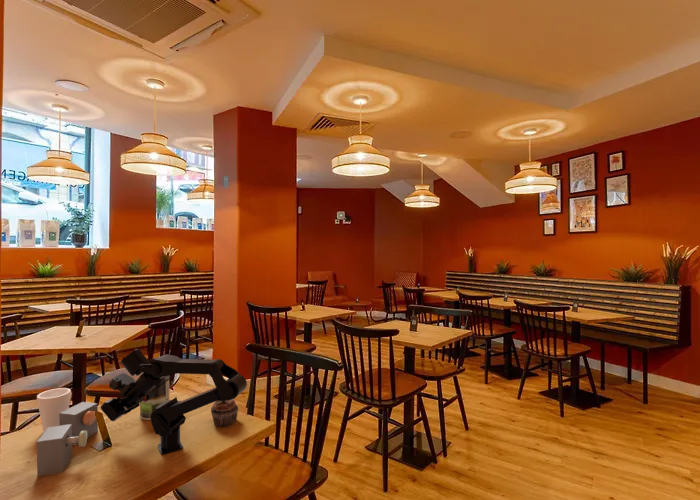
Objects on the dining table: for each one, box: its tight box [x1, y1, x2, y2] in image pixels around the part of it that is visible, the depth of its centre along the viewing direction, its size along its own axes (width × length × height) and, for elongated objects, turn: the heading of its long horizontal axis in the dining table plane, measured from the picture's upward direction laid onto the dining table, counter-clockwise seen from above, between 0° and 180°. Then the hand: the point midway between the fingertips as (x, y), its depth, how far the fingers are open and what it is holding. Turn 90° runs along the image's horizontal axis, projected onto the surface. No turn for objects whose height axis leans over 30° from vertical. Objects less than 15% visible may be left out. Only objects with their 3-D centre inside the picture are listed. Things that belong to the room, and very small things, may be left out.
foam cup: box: [36, 387, 72, 433], centre depth 140 cm, size 10×9×13 cm
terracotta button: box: [82, 411, 96, 425], centre depth 134 cm, size 6×4×4 cm
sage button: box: [65, 430, 88, 448], centre depth 119 cm, size 6×4×4 cm
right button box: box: [59, 401, 99, 446], centre depth 135 cm, size 6×9×10 cm, turn 170°
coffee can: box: [139, 375, 171, 421], centre depth 152 cm, size 10×10×14 cm
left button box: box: [36, 424, 73, 477], centre depth 118 cm, size 6×9×10 cm, turn 20°
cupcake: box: [210, 399, 239, 428], centre depth 146 cm, size 10×10×10 cm
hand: (114, 416), depth 132 cm, fingers closed
